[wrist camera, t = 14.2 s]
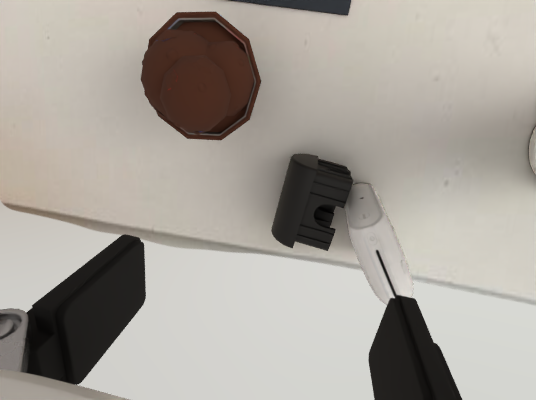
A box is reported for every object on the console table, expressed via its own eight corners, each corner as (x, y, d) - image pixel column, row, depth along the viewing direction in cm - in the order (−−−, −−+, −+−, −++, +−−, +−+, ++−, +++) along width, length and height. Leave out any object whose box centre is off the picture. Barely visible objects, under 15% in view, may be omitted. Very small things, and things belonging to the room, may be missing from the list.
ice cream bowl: (288, 45, 33) (262, 22, 20) (257, 139, 38) (219, 174, 24) (199, 12, 34) (113, -33, 20) (179, 110, 38) (98, 128, 24)
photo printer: (338, 189, 38) (343, 235, 27) (371, 176, 37) (392, 220, 26) (365, 254, 41) (381, 321, 30) (397, 245, 40) (426, 311, 29)
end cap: (294, 148, 37) (288, 162, 31) (350, 163, 37) (355, 180, 31) (275, 217, 41) (267, 241, 35) (325, 231, 41) (325, 259, 35)
